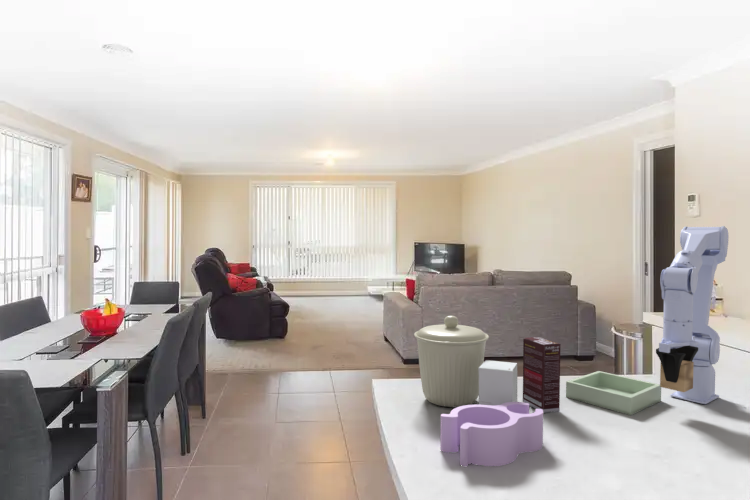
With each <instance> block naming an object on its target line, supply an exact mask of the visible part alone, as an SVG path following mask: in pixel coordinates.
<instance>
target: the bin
mask: <svg viewBox="0 0 750 500" xmlns="http://www.w3.org/2000/svg"><path fill="white" fill-rule="evenodd" d="M565 398H568V399H571V400H574V401H577V402H582V403H586V404H589V405H592V406H596V407H599V408H604V409H607V410H610V411H614V412H617V413H622V414H624V415H628V416H631V415H634V414H636V413H639V412H641V411H643V410H645V409H647V408H649V407H651V406H654V405H656V404H657V403H660V402H661V401H662V387H660V383H659V384H658V383H655V382H651V381H650V382H649V381H646V380H642V379H636V378H632V377H628V376H624V375H619V374H614V373H609V372H606V371H605V372H604V371H600V370H597V371H595V372H591V373H588V374H585V375H581V376H579V377H576V378H572V379H569V380H567V381H565Z"/></svg>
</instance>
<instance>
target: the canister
mask: <svg viewBox="0 0 750 500" xmlns="http://www.w3.org/2000/svg"><path fill="white" fill-rule="evenodd" d="M443 323H444V324H432V325H427V326H424V327H422V328H420V329H419V330H417V331H415V332H414V333H413V335H414V338H415V339H416V343H417V353H418V364H419V365H418V366H419V372H420V373H419V374H420V382H421V387H422V388H421V389H422V393H423V395H424V398H426V400H427V401H428V402H429V403H431V404H433V405H436V406H440V407H445V408H457V407H460V406H464V405H474V403H475V402H476V401H477V400H478V399H479V371H478V368H479V367H480V366H481V365H482V364H483V363H484V360H485V355H486V354H485V353H486V343H487V341H488V340H489V339H490V336H489V334H488V333H487V332H484V331H483V330H482V329H481V328H478V327H474V326H471V325H470V326H468V325H464V324H463V325H462V324H459V318H458V317H457V316H455V315H447V316H445V317H444V319H443Z"/></svg>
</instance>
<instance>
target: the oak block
mask: <svg viewBox="0 0 750 500" xmlns="http://www.w3.org/2000/svg"><path fill="white" fill-rule="evenodd" d="M693 367H694V362H691V361H686V360H682V363H681V366H680V371H679V377H678V381H677V382H676V383H674V382H670V381H666V379H665V375H664V370H663V367H662V364H661V363H660V371H659V372H660V375H659V378H660V379H659V384H660V387H661V388H664V389H669V390H673V391H675V392H677V391H680V392H686V391H688V390H690V389H692V388H693Z"/></svg>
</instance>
